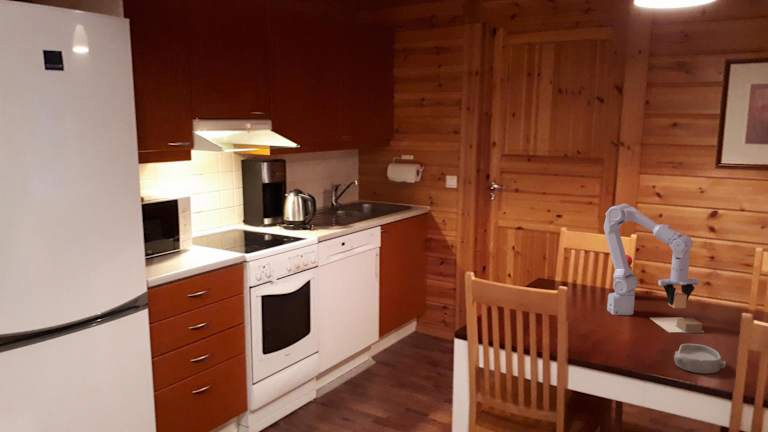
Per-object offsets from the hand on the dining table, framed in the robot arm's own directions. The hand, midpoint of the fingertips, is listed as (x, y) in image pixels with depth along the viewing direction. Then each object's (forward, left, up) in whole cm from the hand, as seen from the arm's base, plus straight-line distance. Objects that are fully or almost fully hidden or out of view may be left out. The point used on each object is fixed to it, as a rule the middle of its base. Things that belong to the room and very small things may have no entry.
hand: (677, 303), depth 218 cm
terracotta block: (0, 0, -1) cm, 1 cm away
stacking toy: (-3, +36, -9) cm, 38 cm away
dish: (-10, -34, -10) cm, 37 cm away
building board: (0, 0, -9) cm, 9 cm away
